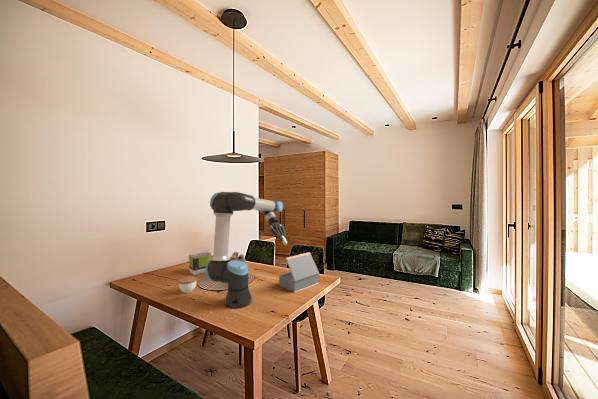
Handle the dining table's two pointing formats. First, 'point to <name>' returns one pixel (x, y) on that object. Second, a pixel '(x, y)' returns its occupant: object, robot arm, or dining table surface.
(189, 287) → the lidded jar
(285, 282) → the mailer box
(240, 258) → the owl figurine
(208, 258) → the tea box
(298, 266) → the lid
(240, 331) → the dining table surface
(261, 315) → the dining table surface
